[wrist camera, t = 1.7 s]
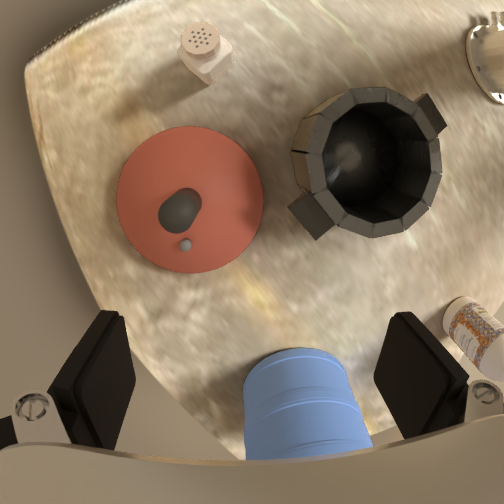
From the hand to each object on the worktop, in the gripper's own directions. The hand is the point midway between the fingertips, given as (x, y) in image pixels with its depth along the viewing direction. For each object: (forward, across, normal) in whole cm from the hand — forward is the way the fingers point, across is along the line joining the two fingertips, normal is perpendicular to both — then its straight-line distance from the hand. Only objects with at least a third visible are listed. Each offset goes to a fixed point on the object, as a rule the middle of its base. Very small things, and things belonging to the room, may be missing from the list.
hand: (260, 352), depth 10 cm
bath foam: (+26, -35, +15) cm, 46 cm away
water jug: (+27, -9, +27) cm, 39 cm away
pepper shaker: (+26, +4, -16) cm, 31 cm away
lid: (+26, +6, -1) cm, 27 cm away
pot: (+26, -12, -6) cm, 29 cm away
